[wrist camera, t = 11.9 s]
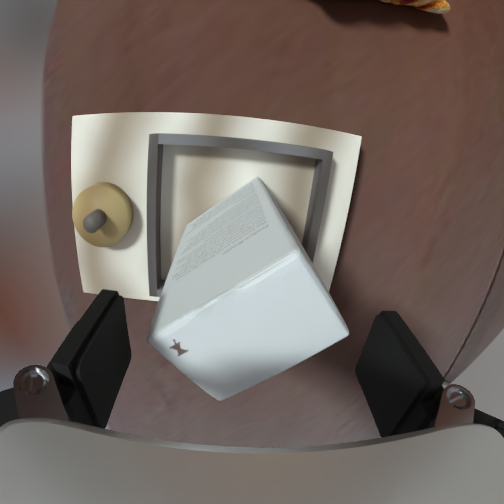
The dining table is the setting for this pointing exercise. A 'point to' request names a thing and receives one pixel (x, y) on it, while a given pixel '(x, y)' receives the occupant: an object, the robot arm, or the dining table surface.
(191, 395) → the dining table surface
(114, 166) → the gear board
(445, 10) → the croissant
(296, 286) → the skincare box
